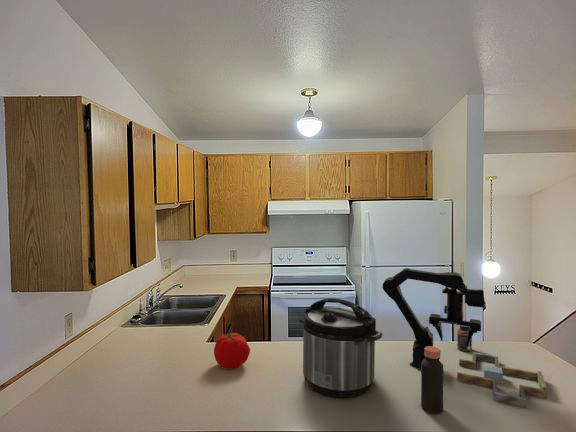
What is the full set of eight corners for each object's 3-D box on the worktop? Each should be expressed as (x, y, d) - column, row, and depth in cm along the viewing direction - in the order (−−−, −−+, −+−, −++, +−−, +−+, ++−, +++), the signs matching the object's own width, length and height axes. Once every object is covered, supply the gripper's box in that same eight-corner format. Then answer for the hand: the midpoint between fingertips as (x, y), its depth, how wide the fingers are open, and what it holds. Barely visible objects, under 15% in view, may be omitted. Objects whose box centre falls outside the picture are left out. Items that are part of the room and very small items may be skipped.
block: (484, 380, 136) (484, 370, 135) (483, 374, 140) (483, 364, 140) (502, 384, 133) (502, 373, 133) (501, 378, 137) (501, 367, 137)
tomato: (207, 370, 146) (207, 337, 146) (225, 356, 159) (225, 326, 159) (241, 376, 141) (240, 342, 140) (257, 361, 153) (256, 330, 153)
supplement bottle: (473, 352, 160) (473, 327, 159) (459, 351, 161) (459, 327, 160) (469, 347, 166) (469, 323, 165) (455, 346, 167) (456, 322, 166)
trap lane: (455, 391, 127) (455, 382, 127) (460, 355, 157) (460, 347, 157) (551, 413, 114) (551, 402, 114) (537, 369, 143) (537, 360, 143)
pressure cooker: (395, 393, 127) (395, 305, 126) (323, 410, 117) (323, 315, 116) (352, 358, 155) (351, 286, 154) (291, 370, 146) (290, 293, 144)
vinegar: (441, 417, 113) (441, 355, 112) (419, 410, 117) (419, 350, 116) (444, 406, 119) (445, 347, 118) (423, 400, 122) (423, 343, 121)
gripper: (481, 302, 144) (480, 340, 145) (432, 296, 153) (431, 332, 154) (481, 310, 135) (480, 350, 135) (428, 303, 144) (428, 341, 144)
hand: (454, 343), depth 142 cm, fingers open, 9 cm apart
